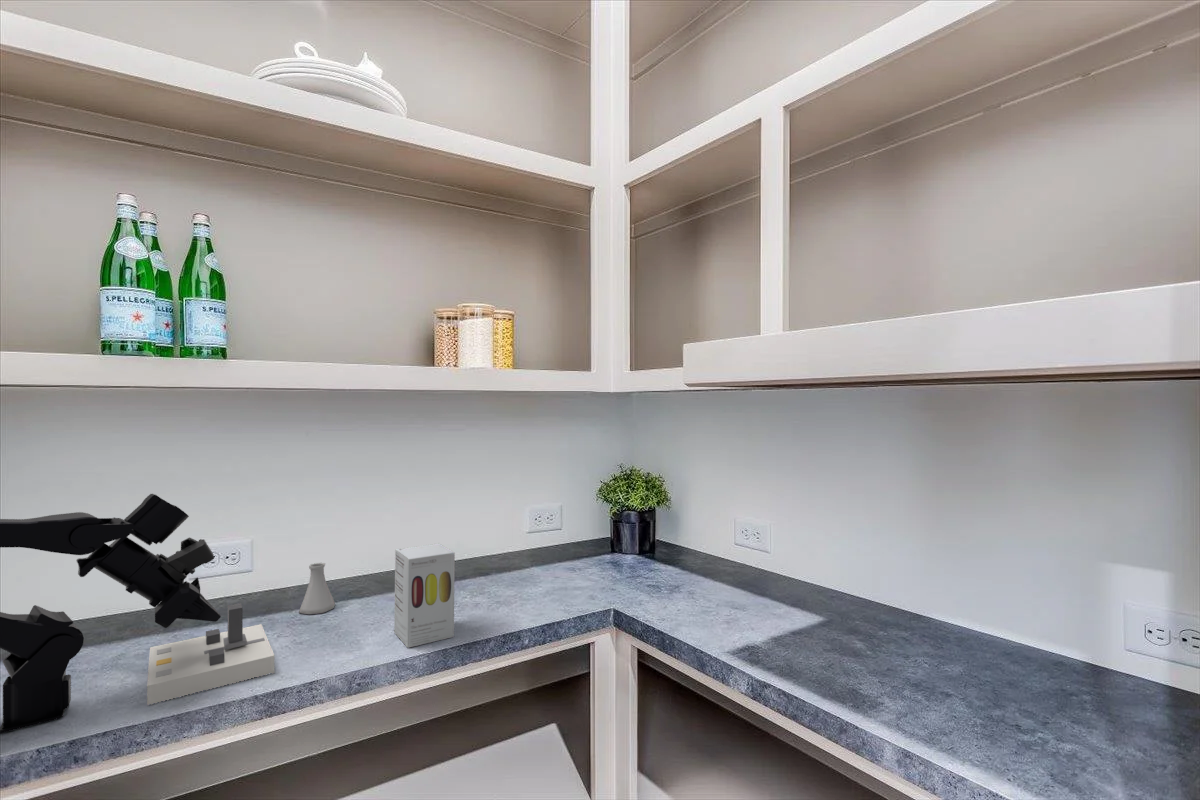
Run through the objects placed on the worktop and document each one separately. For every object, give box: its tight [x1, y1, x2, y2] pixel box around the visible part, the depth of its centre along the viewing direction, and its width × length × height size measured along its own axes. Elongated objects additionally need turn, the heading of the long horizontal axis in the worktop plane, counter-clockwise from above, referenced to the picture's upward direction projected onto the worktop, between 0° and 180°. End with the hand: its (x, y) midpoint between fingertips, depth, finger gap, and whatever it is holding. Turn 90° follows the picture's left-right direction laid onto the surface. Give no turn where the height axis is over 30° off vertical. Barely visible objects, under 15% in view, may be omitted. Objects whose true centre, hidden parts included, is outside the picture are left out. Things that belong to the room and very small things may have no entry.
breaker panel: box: [146, 623, 275, 706], centre depth 98 cm, size 17×17×4 cm
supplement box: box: [393, 542, 456, 649], centre depth 113 cm, size 10×9×17 cm
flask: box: [298, 562, 336, 615], centre depth 126 cm, size 7×7×10 cm
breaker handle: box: [224, 602, 247, 650], centre depth 101 cm, size 3×4×7 cm
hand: (218, 618), depth 99 cm, fingers closed
